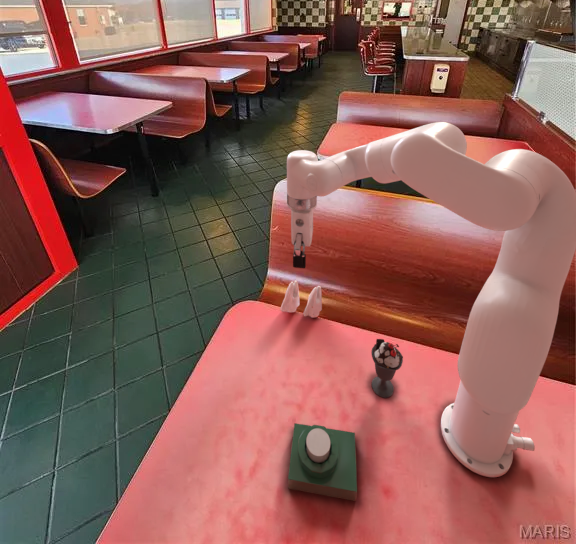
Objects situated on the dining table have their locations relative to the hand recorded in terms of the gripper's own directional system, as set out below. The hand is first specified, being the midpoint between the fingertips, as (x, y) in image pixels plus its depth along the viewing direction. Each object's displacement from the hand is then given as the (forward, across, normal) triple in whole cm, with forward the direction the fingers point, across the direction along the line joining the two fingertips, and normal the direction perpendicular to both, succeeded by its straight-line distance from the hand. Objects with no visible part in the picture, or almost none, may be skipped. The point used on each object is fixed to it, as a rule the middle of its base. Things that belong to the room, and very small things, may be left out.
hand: (301, 255), depth 89 cm
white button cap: (+15, -36, -7) cm, 39 cm away
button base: (+20, -36, -8) cm, 42 cm away
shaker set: (+20, 0, 0) cm, 20 cm away
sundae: (+20, -19, -21) cm, 35 cm away
